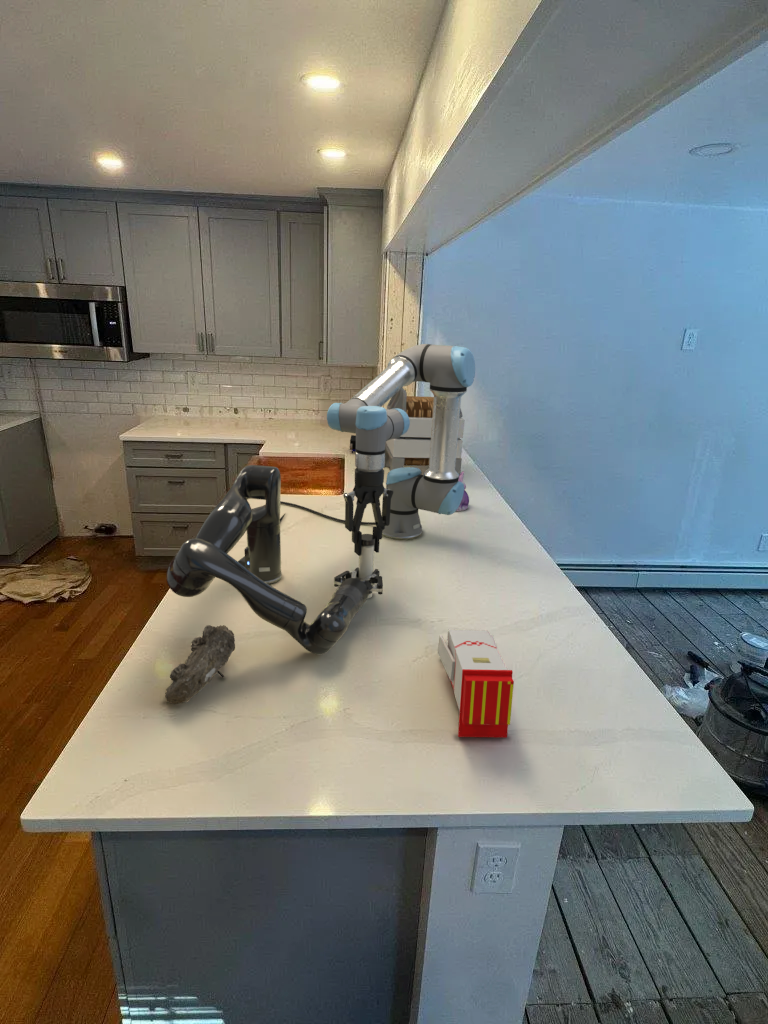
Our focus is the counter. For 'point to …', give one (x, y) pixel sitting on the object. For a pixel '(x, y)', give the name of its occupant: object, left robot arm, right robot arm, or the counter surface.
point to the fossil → (201, 663)
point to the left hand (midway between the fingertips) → (368, 570)
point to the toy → (478, 682)
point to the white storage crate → (416, 433)
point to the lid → (368, 540)
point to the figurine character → (353, 443)
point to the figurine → (465, 497)
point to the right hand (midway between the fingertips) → (366, 552)
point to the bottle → (366, 562)
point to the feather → (281, 518)
